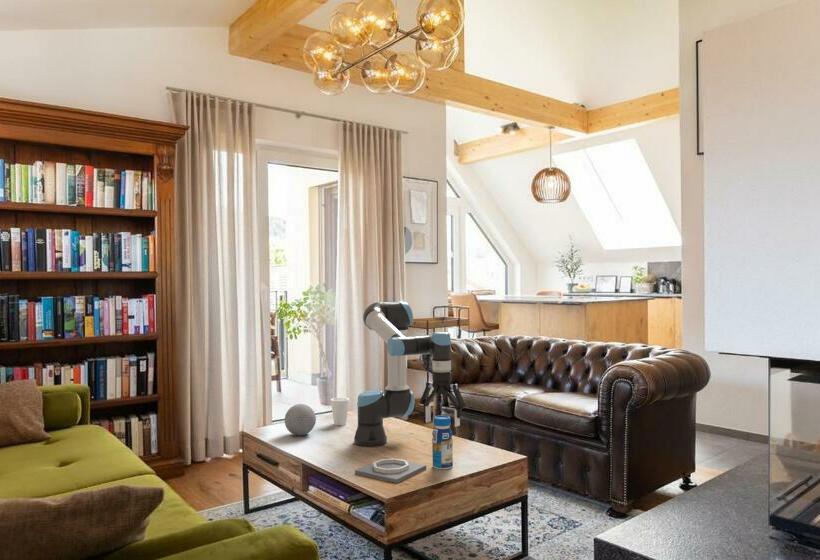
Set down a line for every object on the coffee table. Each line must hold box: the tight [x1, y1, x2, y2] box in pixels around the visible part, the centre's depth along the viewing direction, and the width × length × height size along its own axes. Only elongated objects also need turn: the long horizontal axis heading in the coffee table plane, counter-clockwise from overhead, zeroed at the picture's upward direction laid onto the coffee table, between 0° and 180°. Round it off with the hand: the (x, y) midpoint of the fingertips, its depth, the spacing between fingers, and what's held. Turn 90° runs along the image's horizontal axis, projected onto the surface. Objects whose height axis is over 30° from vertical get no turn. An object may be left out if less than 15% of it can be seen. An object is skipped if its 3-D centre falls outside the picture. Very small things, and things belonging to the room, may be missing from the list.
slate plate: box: [354, 456, 427, 484], centre depth 238 cm, size 20×20×3 cm
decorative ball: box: [284, 403, 317, 436], centre depth 295 cm, size 15×15×15 cm
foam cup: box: [330, 396, 350, 426], centre depth 316 cm, size 10×9×13 cm
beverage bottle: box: [431, 415, 454, 470], centre depth 243 cm, size 8×8×20 cm
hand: (442, 424), depth 243 cm, fingers open, 13 cm apart
